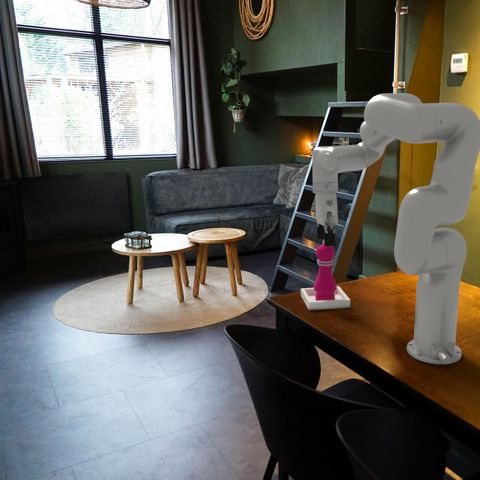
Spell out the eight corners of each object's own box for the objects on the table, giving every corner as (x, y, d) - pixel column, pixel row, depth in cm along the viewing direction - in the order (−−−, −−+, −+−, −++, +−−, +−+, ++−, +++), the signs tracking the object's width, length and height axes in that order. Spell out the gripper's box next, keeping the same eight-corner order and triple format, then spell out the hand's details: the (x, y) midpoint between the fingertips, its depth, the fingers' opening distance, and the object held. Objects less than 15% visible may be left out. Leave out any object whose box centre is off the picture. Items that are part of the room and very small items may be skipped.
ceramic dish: (350, 307, 152) (350, 299, 152) (308, 310, 152) (308, 302, 151) (338, 293, 165) (339, 286, 164) (300, 295, 164) (300, 288, 164)
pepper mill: (335, 295, 161) (336, 236, 156) (337, 304, 154) (338, 242, 149) (313, 295, 162) (313, 237, 157) (314, 303, 155) (314, 242, 150)
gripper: (345, 190, 141) (345, 247, 145) (330, 183, 158) (330, 235, 162) (319, 191, 141) (320, 249, 145) (307, 185, 158) (308, 237, 161)
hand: (325, 242), depth 153 cm, fingers open, 9 cm apart
